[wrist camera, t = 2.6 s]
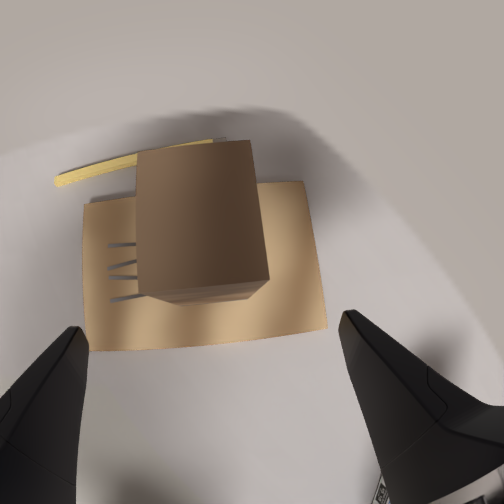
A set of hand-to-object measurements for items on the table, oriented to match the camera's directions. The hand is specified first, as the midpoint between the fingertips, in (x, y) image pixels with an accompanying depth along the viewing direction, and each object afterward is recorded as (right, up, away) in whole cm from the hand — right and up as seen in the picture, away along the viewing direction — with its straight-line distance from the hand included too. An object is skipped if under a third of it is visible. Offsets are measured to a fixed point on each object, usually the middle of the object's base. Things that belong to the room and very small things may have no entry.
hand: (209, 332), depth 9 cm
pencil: (-9, +10, +13) cm, 18 cm away
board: (-3, +2, +12) cm, 12 cm away
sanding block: (-1, +2, +11) cm, 11 cm away
